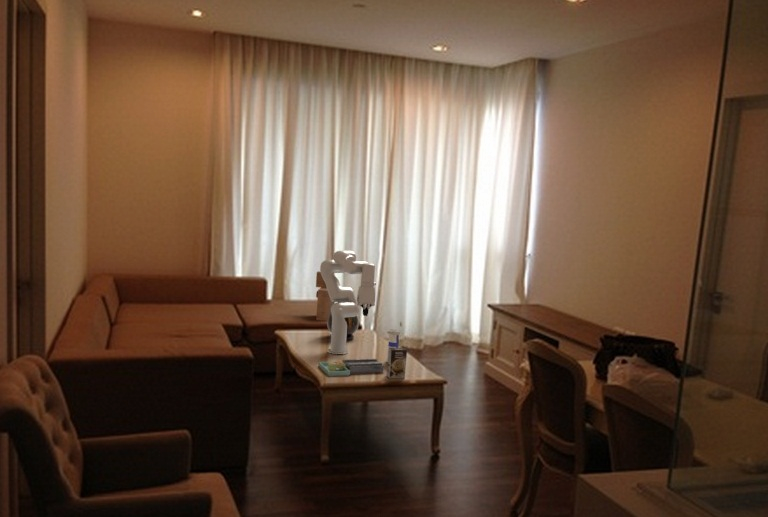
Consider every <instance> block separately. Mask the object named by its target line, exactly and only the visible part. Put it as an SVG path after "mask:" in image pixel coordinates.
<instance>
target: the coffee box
mask: <svg viewBox="0 0 768 517" xmlns="http://www.w3.org/2000/svg"><path fill="white" fill-rule="evenodd" d="M407 355H408V350H407V349H406V348H405V347H399V348H389V352H388V363H386V364H387V365H386V376H387V378H389V379H405V378H406V367H407V366H406V365H407Z"/></svg>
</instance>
